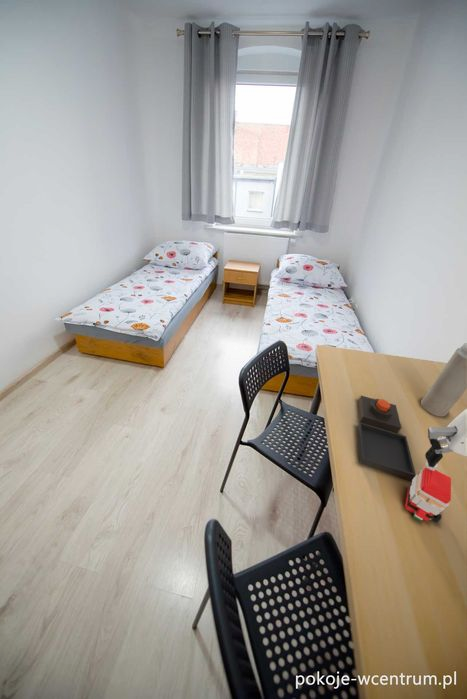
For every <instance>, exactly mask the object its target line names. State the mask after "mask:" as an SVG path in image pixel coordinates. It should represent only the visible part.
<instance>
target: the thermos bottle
mask: <svg viewBox="0 0 467 699" xmlns="http://www.w3.org/2000/svg"><path fill="white" fill-rule="evenodd" d="M434 380H435V381H434V382H433V383H432V385H431V386H430V387H429V389H428V391H426V393H425V395H424V396H423V397H422V399H421V402H420V404H421V406H422V408H423V409H424V411H425V410H426V411H427V412H428V413H430V414H432V415H434V416H436V417H445V416H447V415H448V413H449V412H450V411H451V409H453V407H454V406H455V404H457V402H458V401H459V400H460V398H461V397H462V396H463V395H464V392H465V391H466V390H467V342H464V344H462V345H461V346H460V347H458V348H457V349H455V351H454V352H453V354H452V355H451V357H450V358H449V360H448V361H447V362H446V364H445V365H444V367H443V369H442V370H441V372H440V373H439V374H438V376H437V377H436V379H434Z"/></svg>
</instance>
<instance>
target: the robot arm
mask: <svg viewBox="0 0 467 699" xmlns="http://www.w3.org/2000/svg"><path fill="white" fill-rule="evenodd" d="M427 437H428V441H429V443H430V445H431V446H430V447H429V449H428V450H427V451H426V452H425V455H424V456H425V457H424V458H425V459H426V462H428V465H429V467H434V466H435V465H436V464H437V463H438V464H439V463H440V461H441V460H442V459H443V457H444V455H443V454H449V453H455V454H458V455H461V456H464V457H467V408H465V409H464V410H463V411H461V413H459V414H458V415H457V416H456V417H455V418H454V419H453V420H452V421H451V422H450V423H448V425H447V426H430V427H428V428H427ZM445 444H447V445H445ZM442 445H443V446H442Z"/></svg>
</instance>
